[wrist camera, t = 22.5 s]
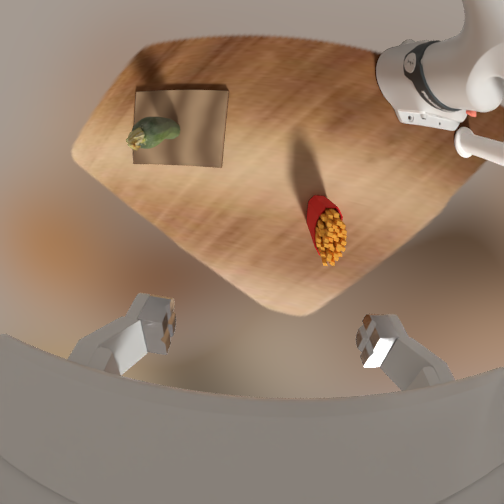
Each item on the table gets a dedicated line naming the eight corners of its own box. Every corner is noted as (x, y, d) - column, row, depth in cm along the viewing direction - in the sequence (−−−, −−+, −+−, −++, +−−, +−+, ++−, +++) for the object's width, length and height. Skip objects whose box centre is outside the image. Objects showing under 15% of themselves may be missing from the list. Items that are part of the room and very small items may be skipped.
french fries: (308, 190, 50) (323, 214, 38) (330, 191, 50) (351, 215, 38) (304, 234, 54) (316, 268, 43) (325, 235, 54) (341, 268, 43)
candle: (449, 134, 42) (536, 161, 20) (467, 122, 40) (551, 144, 18) (459, 162, 44) (540, 200, 22) (477, 149, 42) (555, 181, 20)
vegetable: (162, 120, 42) (105, 127, 25) (184, 112, 42) (137, 111, 24) (169, 142, 44) (117, 162, 27) (191, 134, 44) (149, 148, 26)
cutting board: (229, 91, 41) (228, 91, 40) (222, 166, 48) (221, 167, 47) (139, 92, 41) (136, 92, 40) (136, 162, 47) (133, 163, 46)
